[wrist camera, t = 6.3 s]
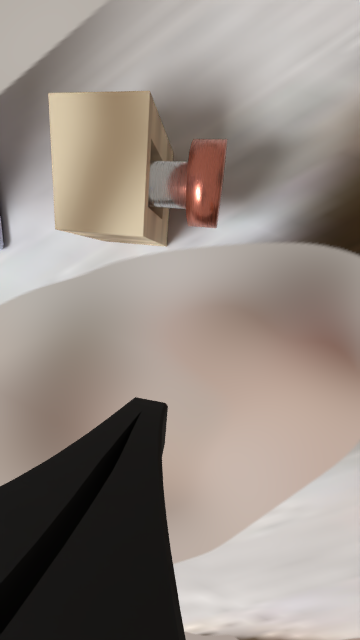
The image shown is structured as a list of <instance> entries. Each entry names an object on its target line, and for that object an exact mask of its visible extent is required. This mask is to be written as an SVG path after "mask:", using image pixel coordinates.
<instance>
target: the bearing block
mask: <svg viewBox="0 0 360 640" xmlns="http://www.w3.org/2000/svg"><path fill="white" fill-rule="evenodd" d="M48 98H49V117H50V136H51V156H52V175H53V194H54V213H55V229H57V230H61V231H65V232H69V233H73V234H77V235H81V236H85V237H90V238H94V239H98V240H102V241H109V242H120V243H132V244H144V245H155V246H167V233H168V219H169V208H163V207H148V193H149V173H150V161H173V151H172V148H171V145H170V143H169V140H168V138H167V135H166V132H165V130H164V127H163V124H162V122H161V119H160V116H159V114H158V111H157V108H156V106H155V103H154V100H153V98H152V95H151V93H150V91H124V92H76V93H48Z"/></svg>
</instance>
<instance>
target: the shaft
mask: <svg viewBox="0 0 360 640" xmlns="http://www.w3.org/2000/svg"><path fill="white" fill-rule="evenodd" d="M226 149H227V139H193V141H192V143H191V147H190V152H189V159H188V162H183V161H150V173H149V193H148V207H163V208H180V209H186V217H187V223H188V226H194V227H208V228H217V222H218V216H219V208H220V201H221V193H222V185H223V177H224V168H225V159H226Z"/></svg>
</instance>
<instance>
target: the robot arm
mask: <svg viewBox="0 0 360 640" xmlns="http://www.w3.org/2000/svg"><path fill="white" fill-rule="evenodd" d="M3 246H4V244H3V235H2V227H1V218H0V250H2V249H3ZM167 408H168V406H167V405H166V403H162V402H157V401H152V400H147V399H141V398H136V397H135V398H134V399H133V400H131V401H130V402H129V403H127V404H126V405H125V406H124V407H122V408H121V409H120V410H118V411H117V412H116V413H115V414H113V415H112V416H111V417H109V418H108V419H107V420H105V421H104V422H103V423H101V424H100V425H98V426H97V427H96V428H94V429H93V430H92V431H90V432H89V433H88V434H86V435H85V436H83V437H82V438H80V439H79V440H77V441H76V442H74V443H73V444H71V445H70V446H68V447H67V448H65V449H64V450H62V451H61V452H59V453H58V454H56V455H55V456H53V457H51V458H50V459H48V460H47V461H45V462H43V463H42V464H40V465H38V466H36V467H35V468H33V469H31V470H29V471H28V472H26V473H24V474H23V475H21V476H19V477H17V478H15V479H14V480H12V481H10V482H8V483H6V484H4V485H2V486H0V640H186V639H185V634H184V628H183V623H182V617H181V612H180V606H179V599H178V593H177V587H176V581H175V574H174V568H173V562H172V556H171V550H170V543H169V534H168V527H167V520H166V509H165V500H164V490H163V473H162V454H163V449H164V444H165V432H166V421H167Z"/></svg>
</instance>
